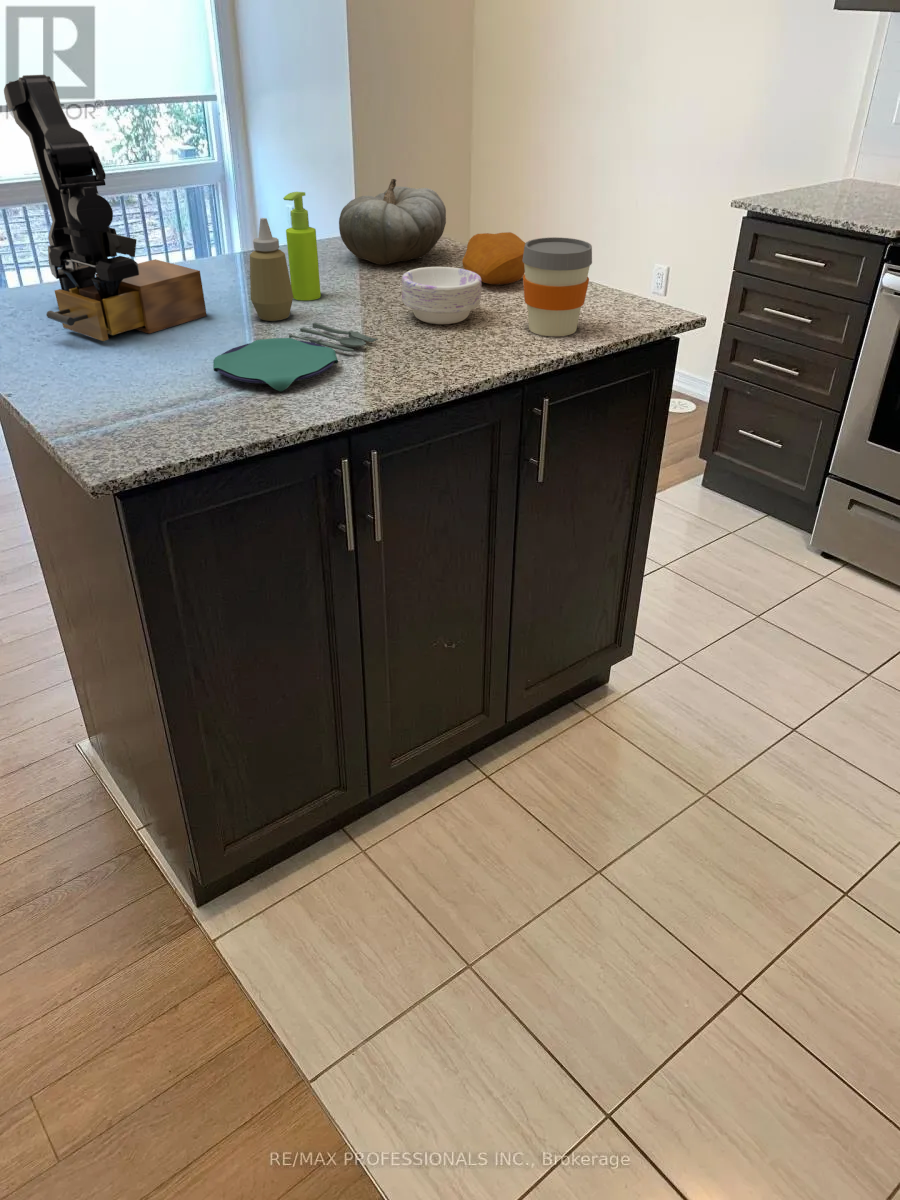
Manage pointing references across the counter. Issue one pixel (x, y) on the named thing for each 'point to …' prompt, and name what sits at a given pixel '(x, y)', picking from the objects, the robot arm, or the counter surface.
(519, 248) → the bread
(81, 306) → the drawer
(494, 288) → the counter surface
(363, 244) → the gourd
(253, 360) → the cutlery set
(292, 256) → the soap dispenser
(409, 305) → the paper bowls
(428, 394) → the counter surface
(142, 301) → the cabinet
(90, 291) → the block
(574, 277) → the reusable coffee cup
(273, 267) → the squeeze bottle
